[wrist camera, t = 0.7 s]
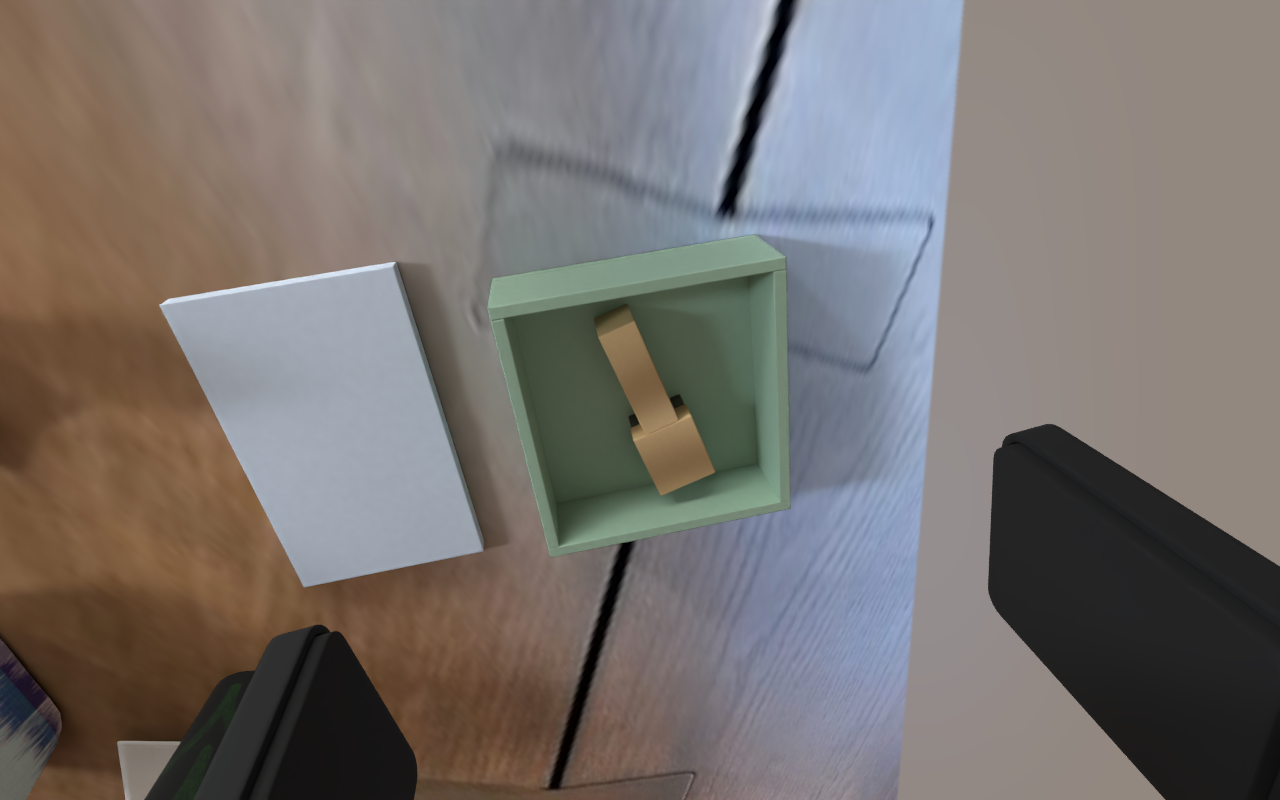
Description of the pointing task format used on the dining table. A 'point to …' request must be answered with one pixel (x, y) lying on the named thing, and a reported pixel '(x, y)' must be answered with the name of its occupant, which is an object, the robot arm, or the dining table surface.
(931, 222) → the dining table surface
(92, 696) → the dining table surface
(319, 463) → the mat
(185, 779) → the cup
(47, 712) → the handbag
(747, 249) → the basket
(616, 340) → the brush
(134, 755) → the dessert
